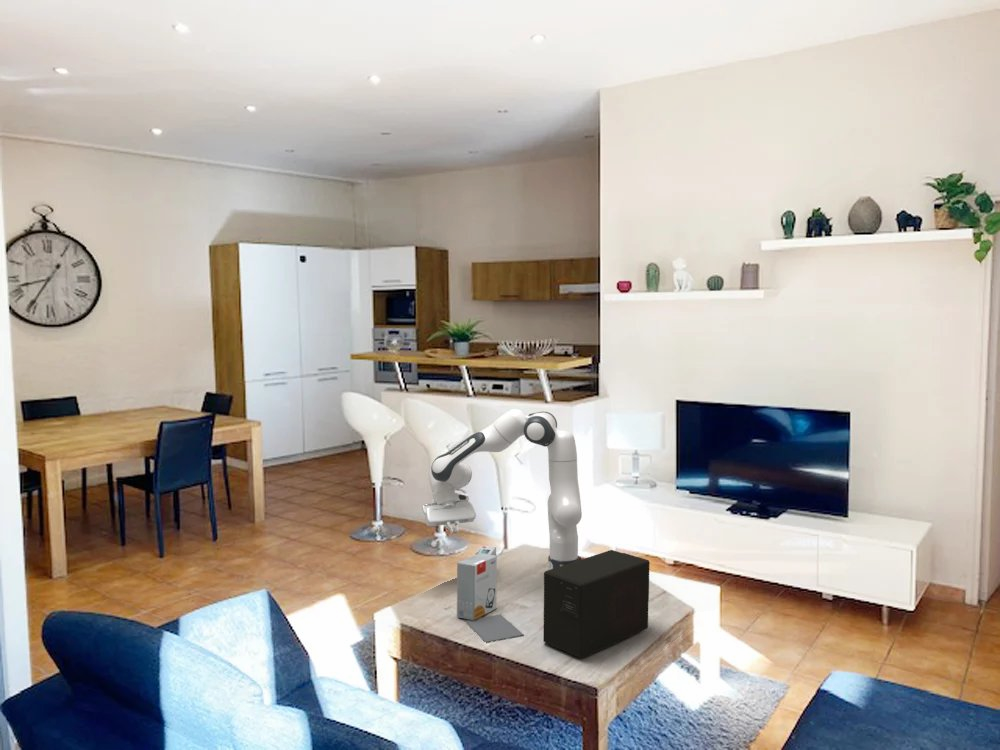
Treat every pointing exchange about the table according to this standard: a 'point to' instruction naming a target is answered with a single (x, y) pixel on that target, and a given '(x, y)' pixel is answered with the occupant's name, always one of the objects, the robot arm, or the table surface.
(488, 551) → the light bulb box
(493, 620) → the mat
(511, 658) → the table surface
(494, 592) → the hard drive box
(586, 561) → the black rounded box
